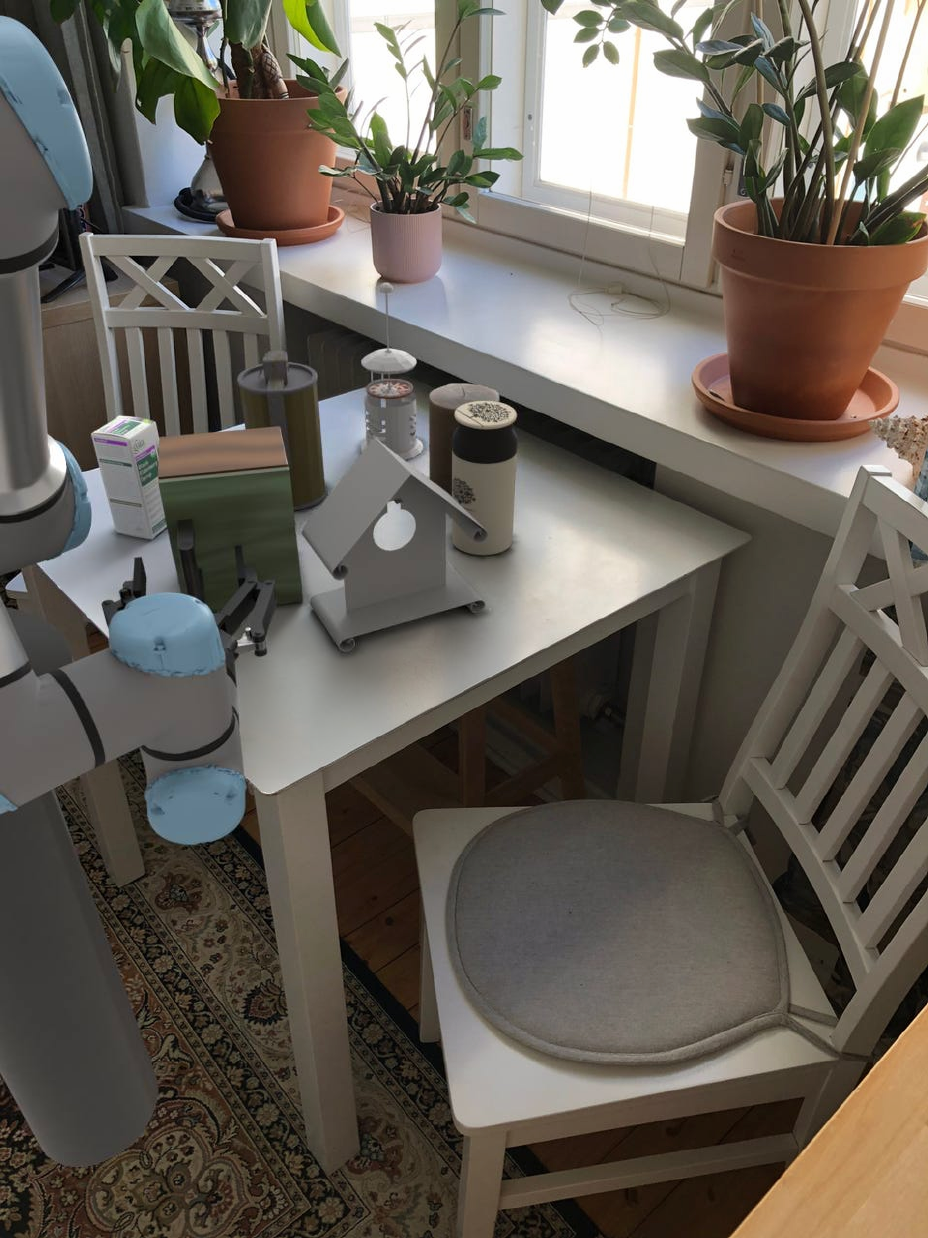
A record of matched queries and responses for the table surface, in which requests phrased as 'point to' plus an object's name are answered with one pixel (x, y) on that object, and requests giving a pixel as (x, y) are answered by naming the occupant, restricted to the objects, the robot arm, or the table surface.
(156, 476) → the syrup box
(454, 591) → the grey house-shaped piece
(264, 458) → the compartment
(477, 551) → the travel mug
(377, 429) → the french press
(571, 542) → the table surface
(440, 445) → the pillar candle
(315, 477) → the canister
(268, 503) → the door
